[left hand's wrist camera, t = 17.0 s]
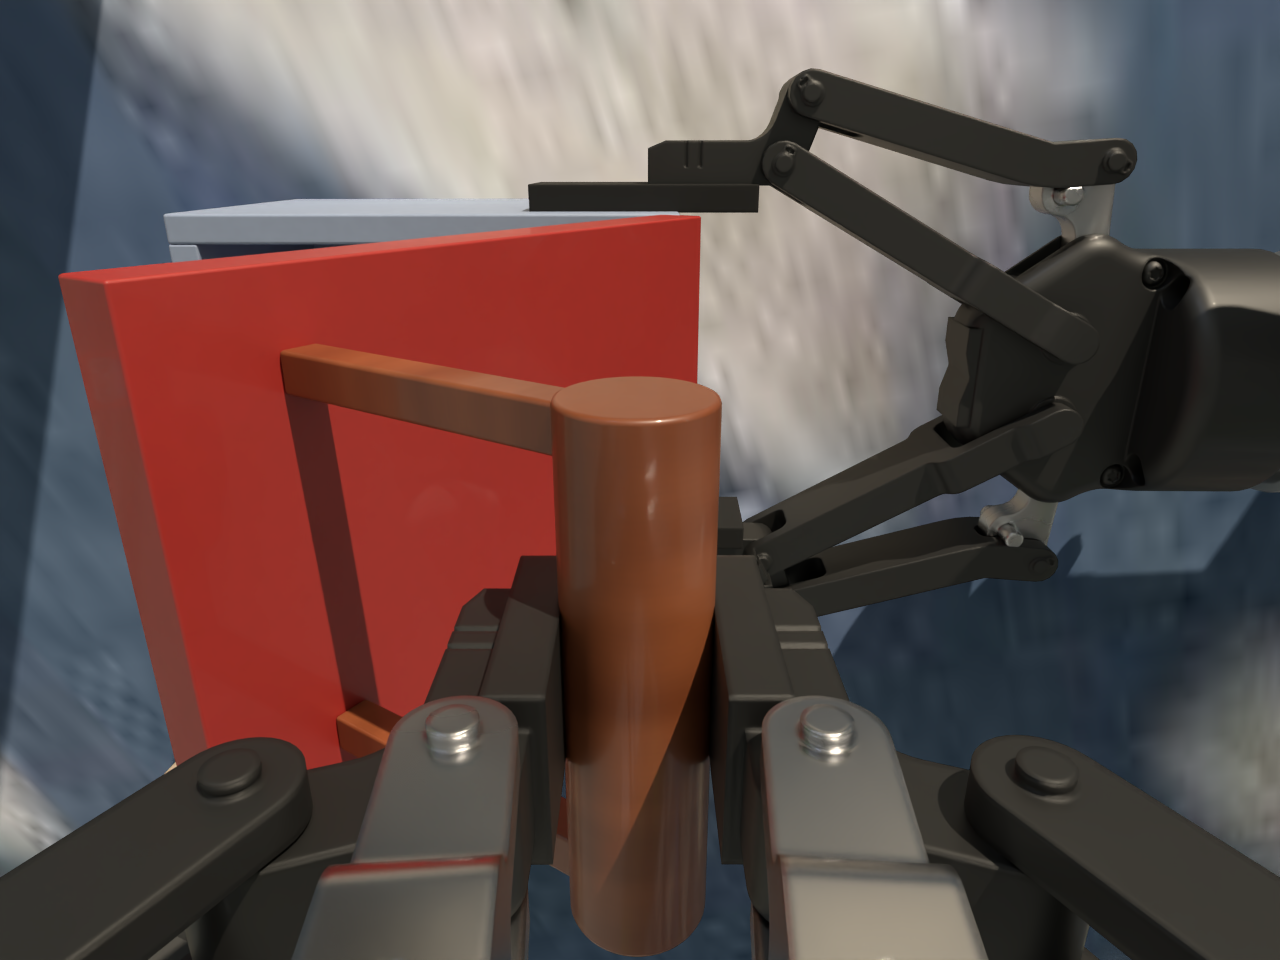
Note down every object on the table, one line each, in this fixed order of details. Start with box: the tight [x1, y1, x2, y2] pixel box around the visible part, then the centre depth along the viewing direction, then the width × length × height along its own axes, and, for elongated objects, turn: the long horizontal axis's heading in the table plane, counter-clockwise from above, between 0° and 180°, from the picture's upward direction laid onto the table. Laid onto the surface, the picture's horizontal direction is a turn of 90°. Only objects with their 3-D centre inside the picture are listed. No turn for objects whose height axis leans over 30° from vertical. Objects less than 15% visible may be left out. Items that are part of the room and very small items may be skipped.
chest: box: [164, 199, 679, 263], centre depth 29 cm, size 14×10×9 cm
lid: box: [59, 215, 722, 957], centre depth 17 cm, size 15×10×8 cm
